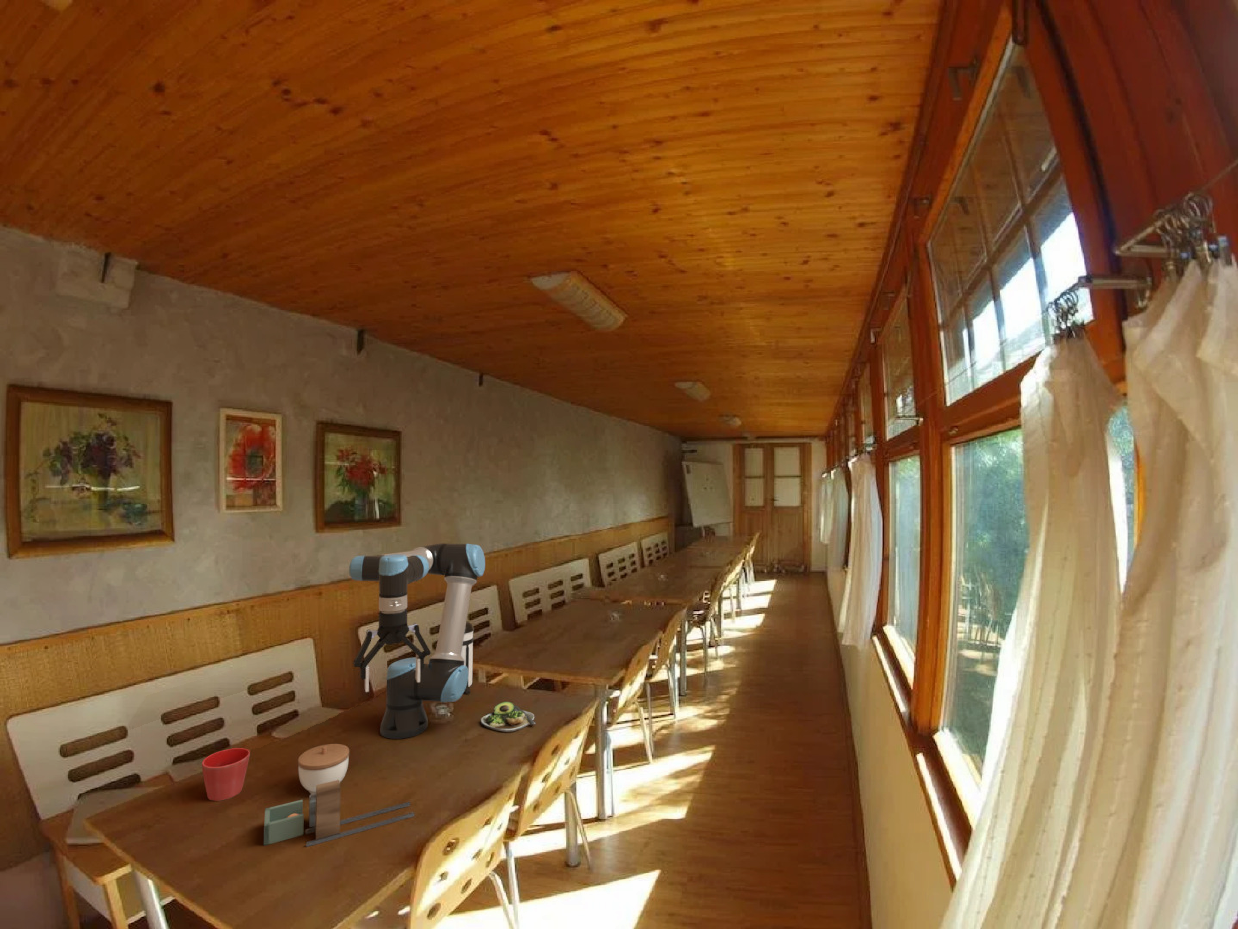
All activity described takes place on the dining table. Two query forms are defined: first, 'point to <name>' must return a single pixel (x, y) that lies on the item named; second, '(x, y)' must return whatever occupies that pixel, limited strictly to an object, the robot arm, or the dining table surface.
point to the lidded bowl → (323, 765)
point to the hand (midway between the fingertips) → (392, 685)
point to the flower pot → (225, 773)
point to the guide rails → (362, 826)
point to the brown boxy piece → (325, 809)
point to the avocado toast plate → (507, 717)
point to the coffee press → (468, 652)
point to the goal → (283, 822)
